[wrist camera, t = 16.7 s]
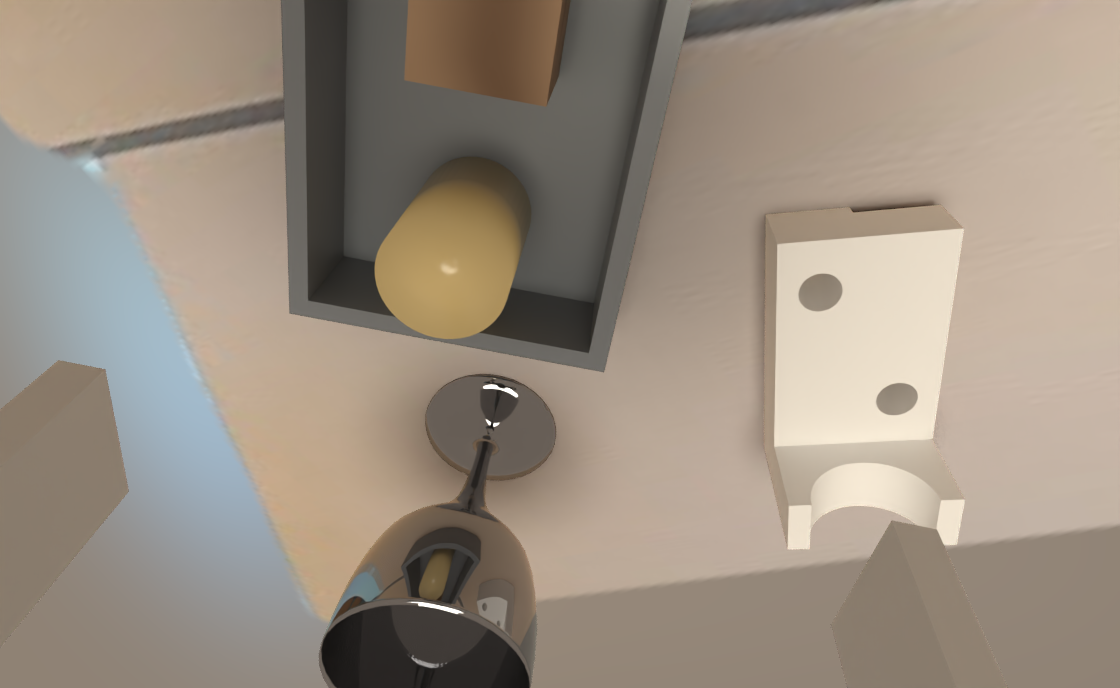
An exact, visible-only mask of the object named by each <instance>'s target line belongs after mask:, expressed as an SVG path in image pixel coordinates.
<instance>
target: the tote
mask: <svg viewBox="0 0 1120 688" xmlns="http://www.w3.org/2000/svg"><path fill="white" fill-rule="evenodd" d="M691 4H692V0H571V1H570V7H569V14H568V20H567V27H566V33H565V39H564V46H563V52H562V59H561V65H560V71H559V77H558V80H557V82H556V84H555V87H554V89H553V92H552V94H551V97H550V99H549V101H548V104H547V106H546V107H545V106H539V105H534V104H529V103H523V102H518V101H513V100H507V99H502V98H497V97H491V96H486V95H481V94H475V93H470V92H465V91H459V90H454V89H449V88H443V87H438V86H433V85H427V84H422V83H417V82H411V81H406V80H404V76H405V57H406V37H407V18H408V0H281V13H282V50H283V87H284V125H285V162H286V199H287V237H288V274H289V311H290V314H295V315H300V316H306V317H311V318H316V319H322V320H327V321H333V322H338V323H343V324H349V325H354V326H359V327H365V328H370V329H375V330H381V331H386V332H391V333H397V334H402V335H407V336H413V337H418V338H423V339H429V340H434V341H440V342H445V343H450V344H456V345H461V346H466V347H472V348H477V349H482V350H488V351H493V352H498V353H504V354H509V355H514V356H520V357H525V358H530V359H536V360H541V361H546V362H552V363H557V364H563V365H568V366H573V367H579V368H584V369H589V370H595V371H600V372H604V370H605V366H606V362H607V357H608V353H609V349H610V345H611V340H612V336H613V332H614V328H615V324H616V319H617V315H618V311H619V307H620V303H621V298H622V294H623V290H624V286H625V282H626V277H627V273H628V269H629V265H630V261H631V256H632V252H633V248H634V244H635V239H636V235H637V231H638V227H639V223H640V218H641V214H642V210H643V206H644V202H645V197H646V193H647V189H648V185H649V181H650V176H651V172H652V168H653V164H654V159H655V155H656V151H657V147H658V143H659V138H660V134H661V130H662V126H663V122H664V117H665V113H666V109H667V105H668V101H669V96H670V92H671V88H672V84H673V80H674V75H675V71H676V67H677V63H678V58H679V54H680V50H681V46H682V42H683V37H684V33H685V29H686V25H687V21H688V16H689V12H690V8H691ZM461 157H481V158H486V159H489V160H492V161H495V162H497V163H499V164H501V165H502V166H504V167H505V168H507V169H508V170H510V171H511V172H512V173H513V174H514V175H515V176H516V177H517V178H518V180H519V181H520V182H521V184H522V185H523V187H524V188H525V190H526V192H527V195H528V198H529V201H530V206H531V223H530V228H529V231H528V234H527V237H526V241H525V244H524V247H523V250H522V253H521V257H520V260H519V263H518V266H517V269H516V272H515V276H514V279H513V282H512V285H511V288H510V292H509V295H508V298H507V301H506V304H505V306H504V309H503V310H502V312H501V314H500V315H499V316H498V318H497V319H496V320H495V321H494V322H493V323H492V324H491V325H490V326H489V327H487V328H486V329H484V330H483V331H481V332H479V333H477V334H474V335H472V336H469V337H464V338H458V339H441V338H435V337H431V336H427V335H424V334H422V333H419V332H417V331H415V330H413V329H411V328H410V327H408V326H406V325H405V324H404V323H402V322H401V321H400V320H399V319H397V318H396V317H395V316H394V315H393V314H392V313H391V311H390V310H389V309H388V307H387V306H386V305H385V303H384V301H383V300H382V298H381V296H380V294H379V291H378V288H377V285H376V280H375V260H376V256H377V253H378V250H379V248H380V246H381V244H382V243H383V241H384V240H385V238H386V237H387V235H388V234H389V233H390V231H391V230H392V228H393V227H394V226H395V224H396V223H397V221H398V220H399V219H400V217H401V216H402V214H403V213H404V212H405V210H406V209H407V208H408V206H409V205H410V203H411V202H412V201H413V199H414V198H415V196H416V195H417V194H418V192H419V191H420V190H421V188H422V187H423V185H424V184H425V183H426V181H427V180H428V178H429V177H430V176H431V175H432V173H433V172H434V171H435V170H436V169H438V168H439V167H440V166H441V165H443V164H445V163H446V162H449V161H451V160H453V159H457V158H461Z"/></svg>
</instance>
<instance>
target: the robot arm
mask: <svg viewBox="0 0 1120 688" xmlns="http://www.w3.org/2000/svg"><path fill="white" fill-rule="evenodd" d="M128 492H129V489H128V484H127V479H126V474H125V469H124V464H123V458H122V453H121V448H120V443H119V438H118V432H117V427H116V422H115V417H114V412H113V407H112V401H111V397H110V391H109V386H108V381H107V376H106V370H105V369H101V368H96V367H91V366H85V365H80V364H75V363H69V362H65V361H57V362H56V363H55V364H54V365H52V366H51V367H50V368H49V369H48V370H47V371H45V372H44V373H43V374H42V375H41V376H39V377H38V378H37V379H36V380H35V381H33V382H32V383H31V384H30V385H29V386H28V387H26V388H25V389H24V390H23V391H22V392H21V393H19V394H18V395H17V396H16V397H15V398H14V399H12V400H11V401H10V402H9V403H7V404H6V405H5V406H4V407H3V408H2V409H0V648H1V646H2V645H3V644H4V643H5V642H6V640H7V639H8V638H9V637H10V635H11V634H12V633H13V632H14V631H15V629H16V628H17V627H18V626H19V624H20V623H21V622H22V621H23V620H24V618H25V617H26V616H27V615H28V614H29V612H30V611H31V610H32V609H33V607H34V606H35V605H36V604H37V603H38V601H39V600H40V599H41V598H42V596H43V595H44V594H45V593H46V592H47V590H48V589H49V588H50V587H51V586H52V584H53V583H54V582H55V581H56V579H57V578H58V577H59V576H60V575H61V573H62V572H63V571H64V570H65V568H66V567H67V566H68V565H69V564H70V562H71V561H72V560H73V559H74V557H75V556H76V555H77V554H78V553H79V551H80V550H81V549H82V548H83V546H84V545H85V544H86V543H87V542H88V540H89V539H90V538H91V537H92V535H93V534H94V533H95V532H96V531H97V530H98V528H99V527H100V526H101V525H102V523H103V522H104V521H105V520H106V519H107V517H108V516H109V515H110V514H111V513H112V511H113V510H114V509H115V508H116V506H117V505H118V504H119V503H120V502H121V500H122V499H123V498H124V497H125V495H126V494H127V493H128ZM831 626H832V630H833V634H834V638H835V642H836V646H837V650H838V654H839V658H840V662H841V666H842V670H843V674H844V677H845V681H846V685H847V688H1008V686H1007V684H1006V682H1005V680H1004V677H1003V675H1002V673H1001V671H1000V668H999V666H998V664H997V662H996V660H995V657H994V655H993V653H992V651H991V648H990V646H989V644H988V642H987V640H986V637H985V635H984V633H983V631H982V629H981V626H980V624H979V622H978V620H977V617H976V615H975V613H974V611H973V609H972V606H971V604H970V602H969V600H968V597H967V596H966V593H965V591H964V589H963V587H962V584H961V582H960V580H959V577H958V575H957V573H956V571H955V569H954V566H953V564H952V562H951V560H950V557H949V555H948V553H947V551H946V549H945V546H944V544H943V542H942V540H941V537H940V535H939V533H938V531H937V529H933V528H928V527H922V526H917V525H912V524H907V523H902V522H896V521H891V523H890V524H889V526H888V528H887V530H886V531H885V533H884V535H883V536H882V538H881V540H880V542H879V543H878V545H877V547H876V548H875V550H874V552H873V554H872V555H871V557H870V559H869V560H868V562H867V564H866V566H865V567H864V569H863V571H862V573H861V574H860V576H859V578H858V580H857V581H856V583H855V584H854V586H853V588H852V590H851V592H850V593H849V595H848V596H847V598H846V600H845V602H844V603H843V605H842V607H841V609H840V610H839V612H838V614H837V615H836V617H835V619H834V621H833V622H832V624H831Z"/></svg>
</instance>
